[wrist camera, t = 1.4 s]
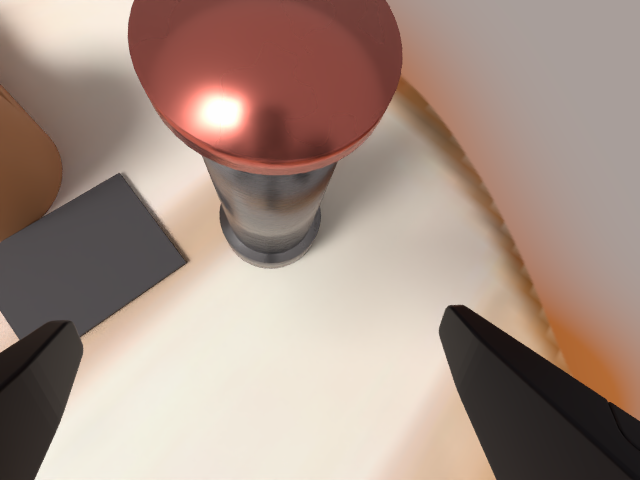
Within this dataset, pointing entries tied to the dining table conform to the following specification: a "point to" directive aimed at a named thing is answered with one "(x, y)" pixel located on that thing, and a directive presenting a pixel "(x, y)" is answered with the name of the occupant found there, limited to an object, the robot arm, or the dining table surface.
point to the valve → (268, 102)
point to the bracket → (24, 168)
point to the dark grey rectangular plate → (83, 260)
